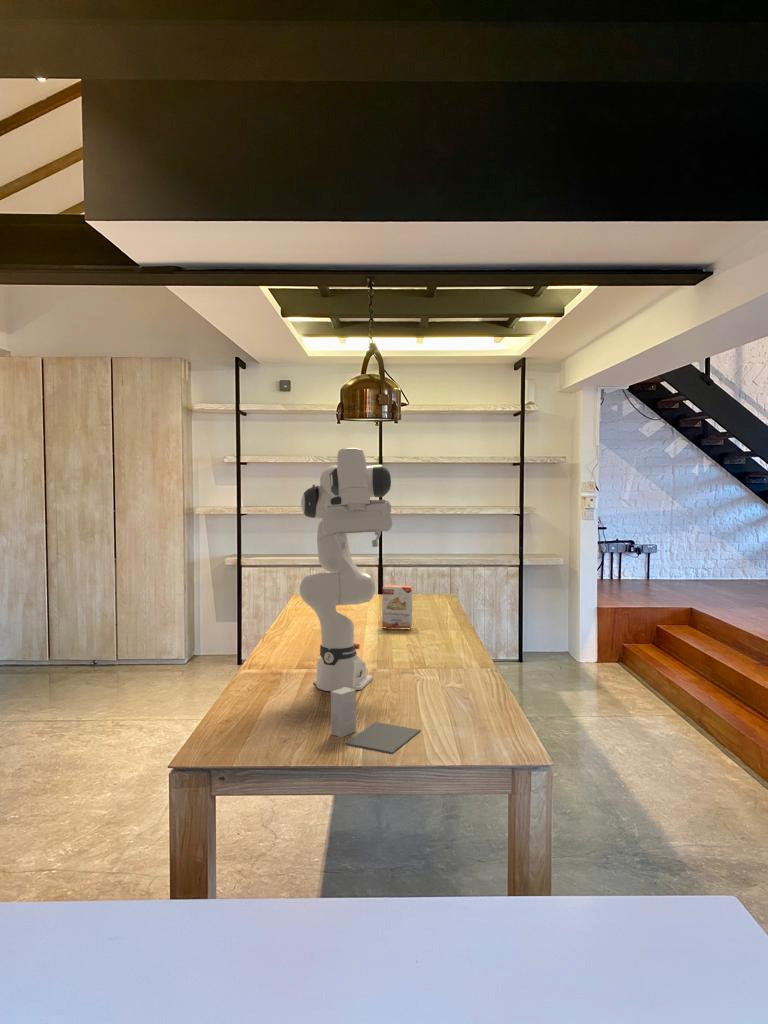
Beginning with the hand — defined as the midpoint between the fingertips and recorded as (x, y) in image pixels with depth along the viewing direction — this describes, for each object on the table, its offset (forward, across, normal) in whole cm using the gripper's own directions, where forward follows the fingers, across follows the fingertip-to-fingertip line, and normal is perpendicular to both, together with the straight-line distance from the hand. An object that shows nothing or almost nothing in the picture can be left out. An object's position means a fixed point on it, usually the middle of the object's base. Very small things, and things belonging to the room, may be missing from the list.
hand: (359, 547), depth 194 cm
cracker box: (+18, -35, -139) cm, 144 cm away
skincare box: (+51, +8, -6) cm, 52 cm away
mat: (+52, -2, -1) cm, 53 cm away
